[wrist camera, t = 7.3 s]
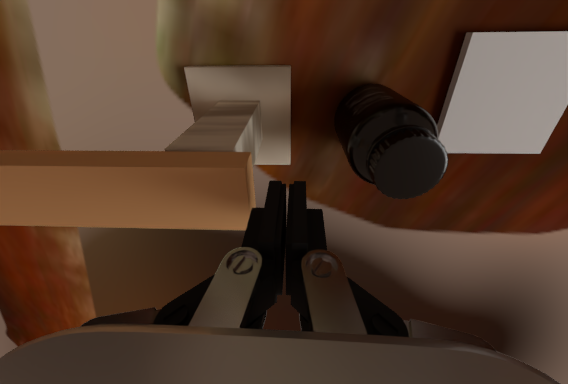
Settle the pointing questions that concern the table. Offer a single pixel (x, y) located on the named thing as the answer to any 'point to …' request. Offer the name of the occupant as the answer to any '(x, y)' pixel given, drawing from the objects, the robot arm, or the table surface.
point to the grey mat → (505, 92)
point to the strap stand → (240, 112)
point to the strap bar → (126, 189)
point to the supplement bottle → (390, 141)
